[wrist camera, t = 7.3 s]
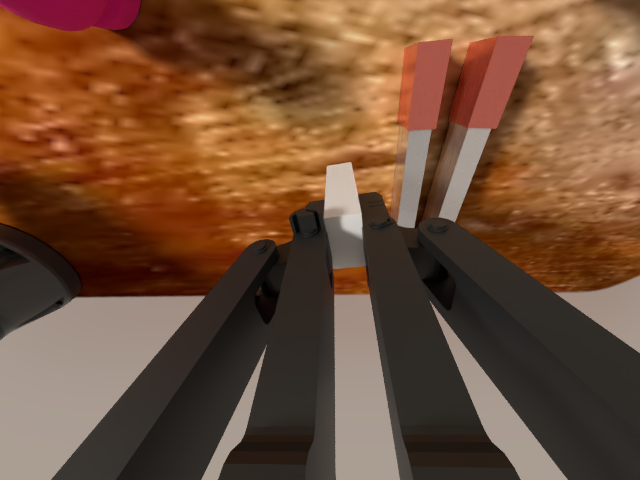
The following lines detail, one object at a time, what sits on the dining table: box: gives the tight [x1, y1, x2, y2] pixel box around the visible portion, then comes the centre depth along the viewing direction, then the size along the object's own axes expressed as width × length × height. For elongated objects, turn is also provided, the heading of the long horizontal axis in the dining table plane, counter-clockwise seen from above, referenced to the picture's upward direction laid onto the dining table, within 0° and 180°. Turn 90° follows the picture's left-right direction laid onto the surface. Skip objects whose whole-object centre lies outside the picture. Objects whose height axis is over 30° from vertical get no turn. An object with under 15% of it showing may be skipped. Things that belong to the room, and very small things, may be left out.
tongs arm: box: [390, 39, 453, 228], centre depth 20 cm, size 16×2×4 cm, turn 5°
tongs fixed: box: [421, 36, 534, 222], centre depth 21 cm, size 20×5×4 cm, turn 0°
